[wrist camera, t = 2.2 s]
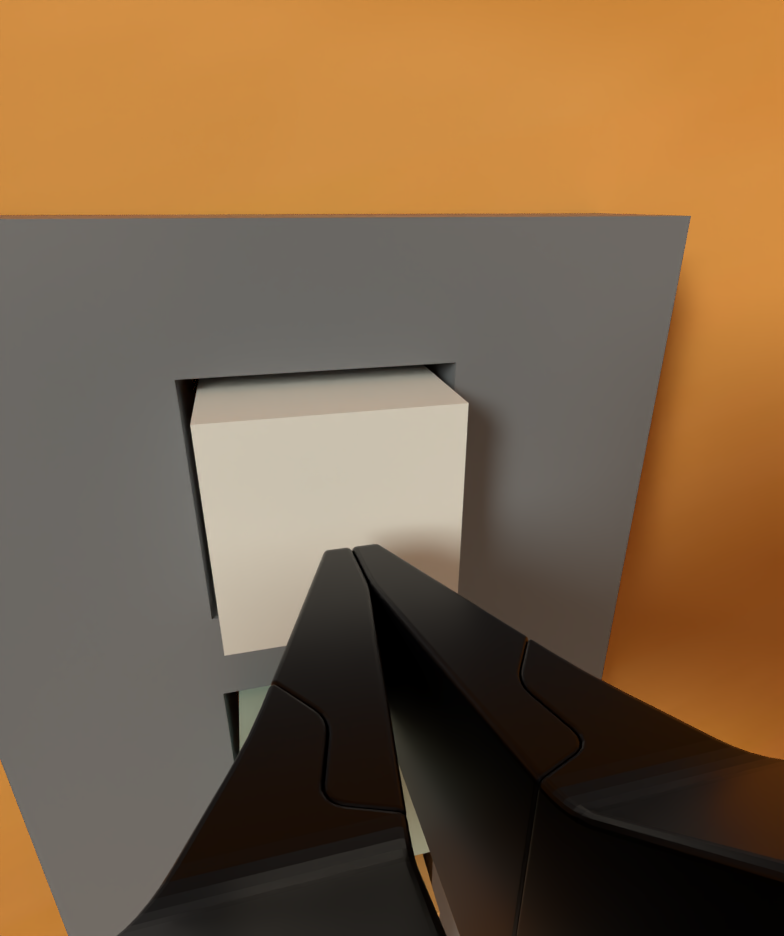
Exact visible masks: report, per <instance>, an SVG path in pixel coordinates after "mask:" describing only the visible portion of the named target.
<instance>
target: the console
mask: <svg viewBox="0 0 784 936" xmlns="http://www.w3.org/2000/svg"><path fill="white" fill-rule="evenodd" d="M690 217H691V216H674V215H638V214H603V213H589V214H275V215H0V760H1V762H2V765H3V767H4V770H5V772H6V775H7V778H8V780H9V783H10V785H11V788H12V791H13V793H14V796H15V798H16V801H17V804H18V806H19V809H20V811H21V814H22V817H23V819H24V822H25V824H26V827H27V830H28V832H29V835H30V837H31V840H32V843H33V845H34V848H35V850H36V853H37V856H38V858H39V861H40V863H41V866H42V869H43V871H44V874H45V876H46V879H47V882H48V884H49V887H50V889H51V892H52V895H53V897H54V900H55V902H56V905H57V907H58V910H59V913H60V915H61V918H62V920H63V923H64V926H65V928H66V931H67V933H68V936H117V935H118V934H119V933H121V932H122V931H123V930H124V929H125V928H126V927H127V926H128V925H129V924H130V923H131V922H132V921H133V920H134V919H135V918H136V917H137V916H138V914H139V913H140V912H141V911H142V910H143V908H144V907H145V906H146V905H147V904H148V902H149V901H150V900H151V898H152V897H153V896H154V894H155V893H156V891H157V890H158V889H159V887H160V886H161V884H162V883H163V881H164V879H165V878H166V876H167V875H168V873H169V871H170V870H171V868H172V866H173V865H174V863H175V861H176V860H177V858H178V856H179V855H180V853H181V851H182V850H183V848H184V846H185V844H186V843H187V841H188V839H189V838H190V836H191V834H192V833H193V831H194V829H195V828H196V826H197V824H198V822H199V821H200V819H201V817H202V816H203V814H204V812H205V811H206V809H207V807H208V806H209V804H210V802H211V800H212V799H213V797H214V795H215V794H216V792H217V790H218V789H219V787H220V785H221V784H222V782H223V780H224V778H225V777H226V775H227V773H228V772H229V770H230V768H231V766H232V764H233V762H234V761H235V759H236V757H237V755H238V753H239V752H240V738H239V706H238V699H237V692H236V691H241V690H247V689H253V688H258V687H264V686H270V685H271V682H272V680H273V677H274V675H275V672H276V670H277V667H278V665H279V662H280V660H281V657H282V655H283V652H284V650H285V647H286V646H281V647H275V648H269V649H263V650H257V651H251V652H245V653H238V654H232V655H226V656H224V649H223V642H222V635H221V629H220V622H219V615H218V609H217V602H216V595H215V588H214V582H213V575H212V568H211V562H210V555H209V548H208V541H207V535H206V528H205V521H204V515H203V508H202V501H201V494H200V488H199V481H198V474H197V467H196V461H195V454H194V447H193V441H192V434H191V427H190V423H191V418H192V413H193V407H194V402H195V397H194V390H193V383H192V379H196V378H213V377H229V376H245V375H261V374H277V373H293V372H309V371H326V370H342V369H358V368H374V367H390V366H406V365H422V364H423V365H424V366H425V367H426V368H428V369H429V370H430V371H431V372H432V373H434V374H435V375H436V376H437V377H438V378H439V379H441V380H442V381H443V382H444V383H445V384H447V385H448V386H449V387H450V388H451V389H453V390H454V391H455V392H456V393H457V394H458V395H460V396H461V397H462V398H463V399H464V400H466V401H467V402H468V403H469V406H468V423H467V441H466V458H465V476H464V494H463V511H462V529H461V546H460V564H459V581H458V594H459V595H461V596H463V597H464V598H466V599H467V600H469V601H471V602H472V603H474V604H475V605H477V606H479V607H480V608H482V609H483V610H485V611H487V612H488V613H490V614H491V615H493V616H495V617H496V618H498V619H500V620H501V621H503V622H504V623H506V624H508V625H509V626H511V627H512V628H514V629H516V630H517V631H519V632H520V633H522V634H524V635H525V636H527V638H528V640H530V639H532V640H534V641H535V642H537V643H539V644H540V645H542V646H543V647H545V648H547V649H548V650H550V651H551V652H553V653H555V654H556V655H558V656H560V657H562V658H563V659H565V660H567V661H568V662H570V663H572V664H573V665H575V666H577V667H579V668H580V669H582V670H584V671H586V672H587V673H589V674H591V675H593V676H595V677H597V678H599V679H602V674H603V669H604V663H605V658H606V653H607V648H608V643H609V637H610V632H611V627H612V622H613V617H614V612H615V606H616V601H617V596H618V591H619V586H620V580H621V575H622V570H623V565H624V560H625V554H626V549H627V544H628V539H629V534H630V529H631V523H632V518H633V513H634V508H635V503H636V497H637V492H638V487H639V482H640V477H641V472H642V466H643V461H644V456H645V451H646V446H647V440H648V435H649V430H650V425H651V420H652V414H653V409H654V404H655V399H656V394H657V389H658V383H659V378H660V373H661V368H662V363H663V357H664V352H665V347H666V342H667V337H668V331H669V326H670V321H671V316H672V311H673V306H674V300H675V295H676V290H677V285H678V280H679V274H680V269H681V264H682V259H683V254H684V249H685V243H686V238H687V233H688V228H689V223H690ZM423 857H424V861H425V864H426V867H427V871H428V874H429V878H430V881H431V885H432V888H433V891H434V895H435V898H436V902H437V905H438V908H439V912H440V915H439V918H440V921H441V923H442V926H443V928H444V930H445V933H446V935H447V936H460V935H459V932H458V929H457V927H456V924H455V921H454V918H453V915H452V913H451V910H450V907H449V904H448V901H447V899H446V896H445V893H444V890H443V887H442V884H441V882H440V879H439V876H438V873H437V870H436V868H435V865H434V862H433V859H432V856H431V854H430V852H427V853H424V854H423Z"/></svg>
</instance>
